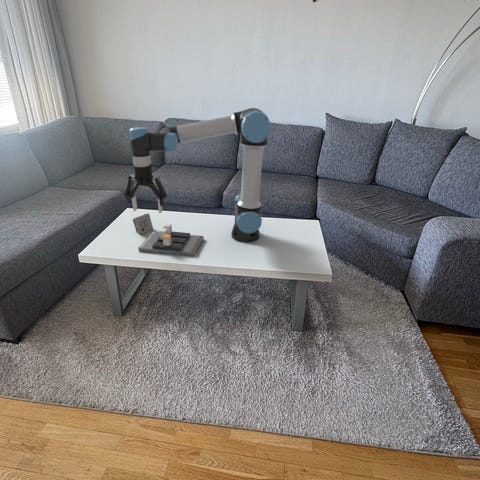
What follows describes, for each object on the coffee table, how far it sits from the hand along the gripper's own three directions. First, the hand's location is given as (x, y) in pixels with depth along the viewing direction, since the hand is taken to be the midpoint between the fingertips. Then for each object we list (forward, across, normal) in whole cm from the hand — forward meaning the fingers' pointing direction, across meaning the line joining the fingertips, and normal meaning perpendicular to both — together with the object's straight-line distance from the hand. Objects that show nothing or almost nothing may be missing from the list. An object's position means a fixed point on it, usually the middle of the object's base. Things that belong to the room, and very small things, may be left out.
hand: (148, 211), depth 154 cm
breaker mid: (+16, -4, -6) cm, 18 cm away
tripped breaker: (+16, -8, 0) cm, 18 cm away
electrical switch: (+21, +13, -19) cm, 31 cm away
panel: (+20, -8, -6) cm, 23 cm away
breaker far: (+16, -4, -12) cm, 21 cm away
